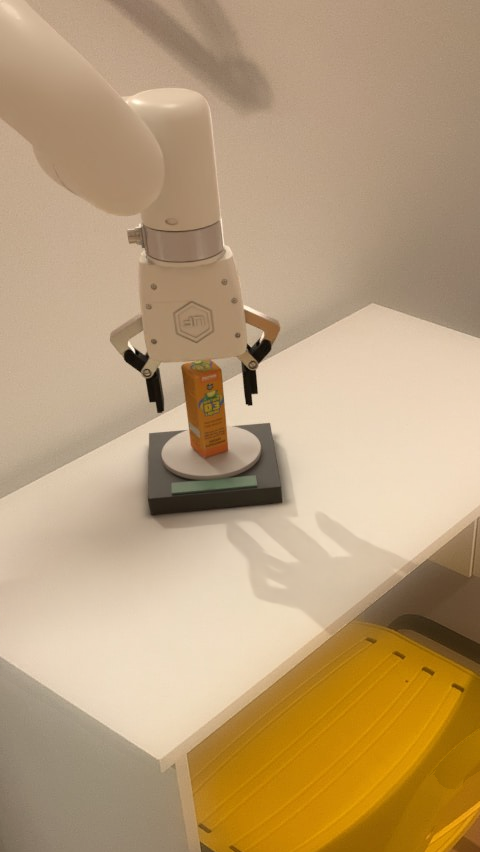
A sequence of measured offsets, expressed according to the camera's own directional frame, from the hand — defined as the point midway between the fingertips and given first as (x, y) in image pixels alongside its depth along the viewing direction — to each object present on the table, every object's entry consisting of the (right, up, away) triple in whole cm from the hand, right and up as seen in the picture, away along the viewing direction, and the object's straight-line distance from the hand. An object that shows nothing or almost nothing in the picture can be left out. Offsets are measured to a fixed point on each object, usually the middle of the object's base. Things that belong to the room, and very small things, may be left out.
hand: (204, 403), depth 103 cm
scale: (0, -7, +5) cm, 8 cm away
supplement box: (0, -4, +4) cm, 6 cm away
